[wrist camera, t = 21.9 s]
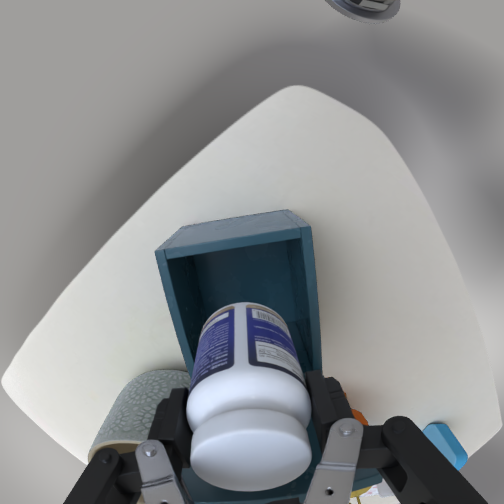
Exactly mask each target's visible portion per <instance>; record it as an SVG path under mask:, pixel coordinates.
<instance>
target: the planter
mask: <svg viewBox="0 0 504 504" xmlns="http://www.w3.org/2000/svg"><path fill="white" fill-rule="evenodd" d="M190 384H191V379H190V376H189V373H188V372H184V371H179V370H155V371H151V372H147V373H144V374H142V375H140V376H138V377H136V378H135V379H133V380H132V381H131V382H129V383H128V384H127V385H126V386H125V387H124V389H123V390H122V391H121V393H120V394H119V396H118V397H117V399H116V401H115V403H114V405H113V407H112V408H111V410H110V412H109V414H108V416H107V417H106V419H105V421H104V423H103V425H102V426H101V428H100V430H99V432H98V434H97V436H96V438H95V440H94V442H93V444H92V446H91V448H90V451H89V454H88V462H90V461H91V459H92V458H93V456H94V454H95V453H96V452H97V451H99V450H100V449H103V448H113V449H115V450H117V452H118V453H119V454H123V453H128V452H133V451H135V450H136V448H137V446H138V445H139V444H140V443H142V442H144V441H146V440H147V438H148V434H149V431H150V428H151V424H152V421H153V420H154V415H155V412H156V408H157V405H158V404H159V403H160V402H161V400H162V399H163V398H169V396H170V393H171V389H172V388H182V387H187V388H188V390H189V389H190ZM137 504H145V502H144V499H143V496H142V493H141V496H140V498H139V500H138V502H137Z"/></svg>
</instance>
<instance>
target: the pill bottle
mask: <svg viewBox="0 0 504 504" xmlns="http://www.w3.org/2000/svg"><path fill="white" fill-rule="evenodd" d="M311 413H312V406H311V400H310V395H309V392H308V389H307V386H306V383H305V379H304V376H303V373H302V370H301V366H300V363H299V360H298V357H297V354H296V350H295V347H294V344H293V341H292V338H291V335H290V332H289V329H288V327H287V325H286V323H285V322H284V320H283V319H282V318H281V316H280V315H279V314H277V313H276V312H275V311H274V310H272V309H270V308H268V307H266V306H264V305H261V304H257V303H250V302H241V303H234V304H230V305H227V306H225V307H223V308H221V309H219V310H218V311H216V312H215V313H214V314H212V315H211V316H210V317H209V319H208V320H207V321H206V323H205V324H204V326H203V329H202V331H201V334H200V338H199V343H198V348H197V353H196V358H195V363H194V368H193V374H192V378H191V384H190V389H189V394H188V399H187V407H186V415H187V420H188V424H189V426H190V428H191V430H192V432H193V433H194V434H193V436H192V441H191V456H190V461H191V466H192V469H193V470H194V472H195V473H196V474H197V475H198V476H199V477H200V478H201V479H203V480H204V481H206V482H208V483H210V484H212V485H214V486H217V487H220V488H224V489H228V490H234V491H261V490H267V489H272V488H275V487H279V486H282V485H284V484H287V483H289V482H291V481H292V480H294V479H296V478H297V477H299V476H300V475H301V474H302V473H304V472H305V470H306V469H307V468H308V466H309V465H310V463H311V460H312V451H311V446H310V442H309V438H308V433H307V430H306V428H307V426H308V424H309V422H310V419H311Z"/></svg>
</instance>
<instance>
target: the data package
mask: <svg viewBox="0 0 504 504" xmlns="http://www.w3.org/2000/svg"><path fill="white" fill-rule="evenodd" d="M423 433H424V434H425V435H426V437H427V438H428V439H429V440H430V441H431V442H432V443H433V444H434V445H435V446H436V447H437V448H438V450H439V451H440V452H441V453H442V454H443V455H444V456H445V457H446V458H447V459H448V460H449V461H450V463H451V464H452V465H453V466H454V467H455V468H456V469H457V470H458V471H459V470H460V468H462V466H464V465H465V463H466V462H467V459H468V455H467V453H466V452H465V450H464V449H463V447H462V446H461V444H460V443H459V441H458V440H457V439H456V437H455V436H454V434H453V433H452V432H451V430H450V429H449V427H448V426H447V425H446V424H430V425H428V426H427V427H426V428H425V429H424V431H423Z"/></svg>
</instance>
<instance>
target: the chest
mask: <svg viewBox="0 0 504 504" xmlns="http://www.w3.org/2000/svg"><path fill="white" fill-rule="evenodd" d="M155 256H156V260H157V264H158V268H159V272H160V276H161V280H162V284H163V288H164V292H165V296H166V300H167V303H168V307H169V311H170V314H171V318H172V321H173V325H174V328H175V331H176V335H177V338H178V341H179V345H180V348H181V351H182V354H183V357H184V360H185V364H186V367H187V370H188V373H189V376H190V379H191V378H192V374H193V368H194V363H195V358H196V353H197V348H198V343H199V338H200V334H201V331H202V329H203V326H204V324H205V323H206V321H207V320H208V319H209V317H210V316H211V315H212V314H214V313H215V312H216V311H218V310H219V309H221V308H223V307H225V306H227V305H230V304H234V303H241V302H250V303H257V304H261V305H264V306H266V307H268V308H270V309H272V310H274V311H275V312H276V313H277V314H279V315H280V316H281V318H282V319H283V320H284V322H285V323H286V325H287V327H288V329H289V332H290V335H291V338H292V341H293V344H294V347H295V350H296V354H297V357H298V360H299V363H300V366H301V370H302V373H303V376H304V379H305V372H308V371H313V370H318V369H320V370H321V373H322V353H321V335H320V319H319V305H318V292H317V281H316V270H315V259H314V249H313V240H312V231H311V226H310V225H309V224H307V223H306V222H305V221H303V220H302V219H301V218H299V217H298V216H297V215H295V214H294V213H292V212H291V211H290V210H288V209H286V210H280V211H273V212H266V213H260V214H254V215H247V216H241V217H235V218H229V219H223V220H217V221H211V222H205V223H199V224H194V225H188V226H182V227H181V228H180V229H179V230H178V231H176V232H175V233H174V234H173V235H172V236H171V237H170V238H169V239H168V240H166V241H165V242H164V243H163V244H162V245H161V246H160V247H159V248H158V249H157V250H155Z"/></svg>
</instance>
